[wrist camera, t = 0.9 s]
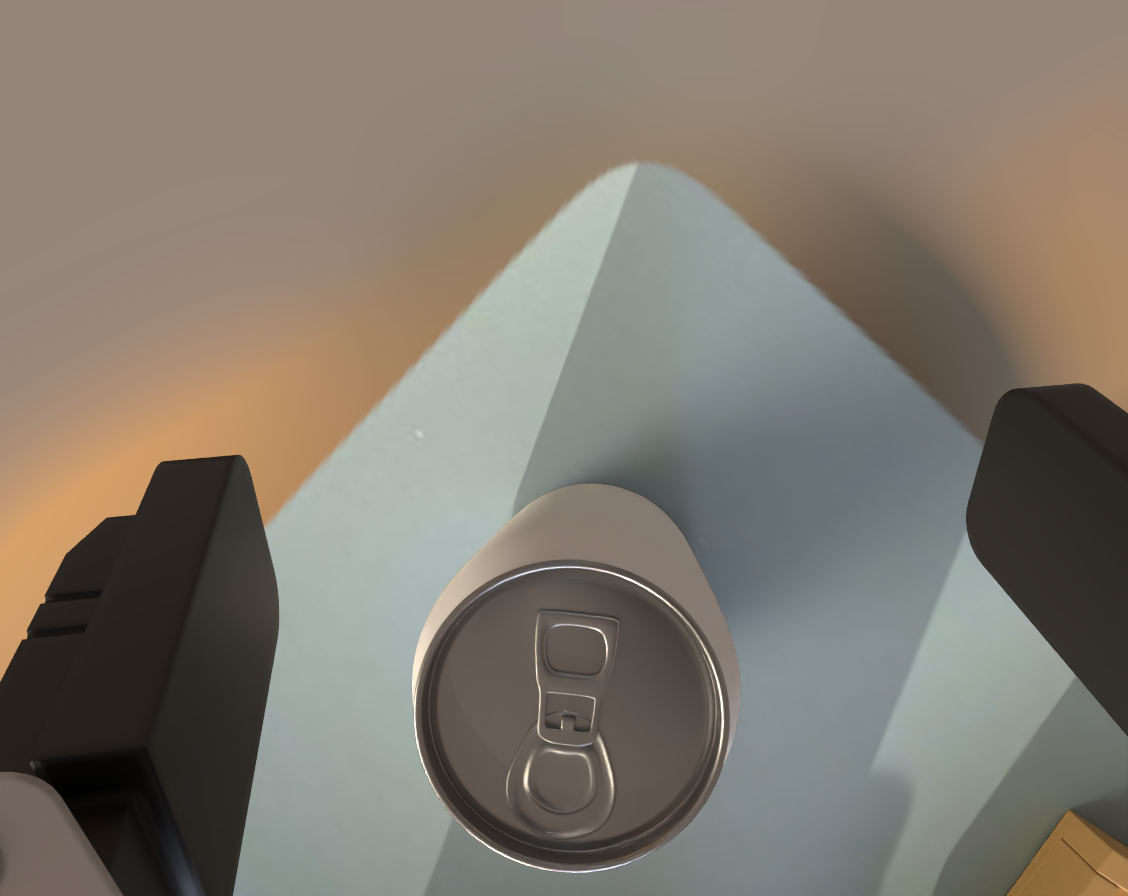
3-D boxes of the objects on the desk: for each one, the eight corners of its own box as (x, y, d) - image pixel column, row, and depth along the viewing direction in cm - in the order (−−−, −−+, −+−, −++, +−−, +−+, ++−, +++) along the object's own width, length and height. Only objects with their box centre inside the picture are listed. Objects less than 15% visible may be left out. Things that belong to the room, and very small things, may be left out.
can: (479, 675, 28) (373, 873, 16) (499, 471, 28) (405, 517, 16) (685, 699, 28) (734, 920, 16) (707, 492, 27) (774, 556, 15)
